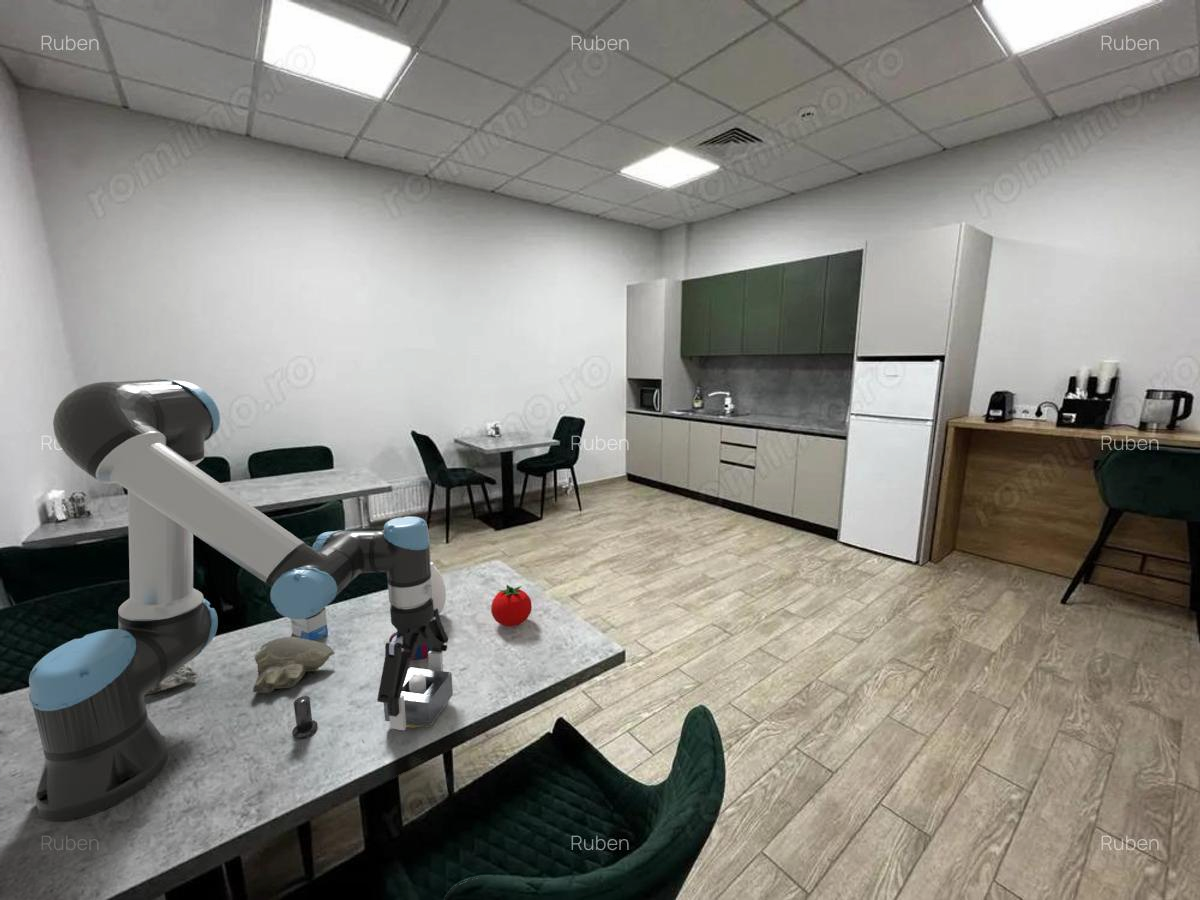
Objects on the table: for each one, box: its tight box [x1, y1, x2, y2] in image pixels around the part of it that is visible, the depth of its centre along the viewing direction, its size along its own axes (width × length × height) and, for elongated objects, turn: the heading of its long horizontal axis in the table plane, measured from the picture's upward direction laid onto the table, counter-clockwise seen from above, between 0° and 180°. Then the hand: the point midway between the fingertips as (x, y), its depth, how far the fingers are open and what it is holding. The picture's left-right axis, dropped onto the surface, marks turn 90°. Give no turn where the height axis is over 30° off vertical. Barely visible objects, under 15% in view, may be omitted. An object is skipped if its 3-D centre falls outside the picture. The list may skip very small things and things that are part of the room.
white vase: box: [430, 561, 447, 615], centre depth 129 cm, size 8×8×18 cm
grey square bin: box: [383, 666, 454, 728], centre depth 94 cm, size 9×9×5 cm
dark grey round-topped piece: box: [291, 695, 319, 740], centre depth 90 cm, size 4×4×6 cm
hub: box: [406, 674, 426, 728], centre depth 94 cm, size 7×7×8 cm
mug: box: [388, 631, 433, 661], centre depth 114 cm, size 7×10×7 cm
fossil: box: [252, 636, 335, 694], centre depth 105 cm, size 14×10×10 cm
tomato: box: [490, 584, 532, 628], centre depth 127 cm, size 10×10×10 cm
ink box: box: [290, 606, 329, 641], centre depth 122 cm, size 8×5×12 cm, turn 58°
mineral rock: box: [145, 665, 199, 695], centre depth 104 cm, size 15×8×4 cm, turn 73°
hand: (418, 703), depth 94 cm, fingers open, 13 cm apart
